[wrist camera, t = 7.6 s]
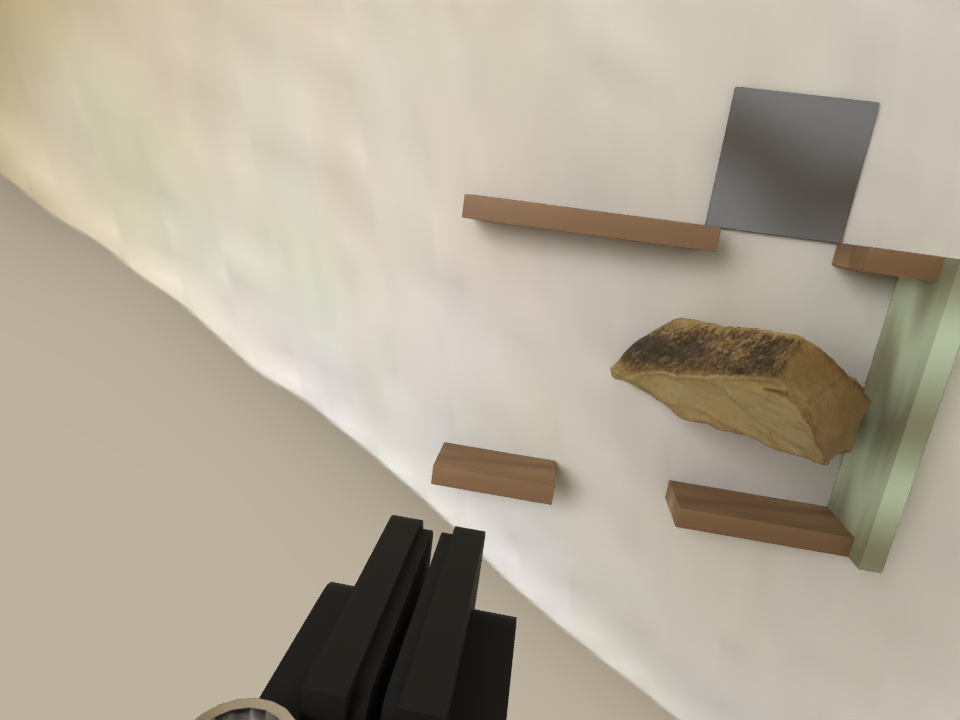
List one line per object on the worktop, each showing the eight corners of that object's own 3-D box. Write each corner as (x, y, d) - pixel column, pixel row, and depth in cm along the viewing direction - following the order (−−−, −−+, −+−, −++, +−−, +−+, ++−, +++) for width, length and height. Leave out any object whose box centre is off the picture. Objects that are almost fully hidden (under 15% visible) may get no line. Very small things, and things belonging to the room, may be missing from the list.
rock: (946, 404, 27) (833, 229, 25) (936, 566, 22) (793, 366, 20) (727, 443, 36) (626, 314, 33) (683, 567, 30) (560, 426, 28)
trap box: (490, 60, 28) (478, 38, 24) (973, 114, 26) (1044, 99, 22) (442, 459, 33) (426, 492, 30) (842, 527, 32) (881, 573, 28)
